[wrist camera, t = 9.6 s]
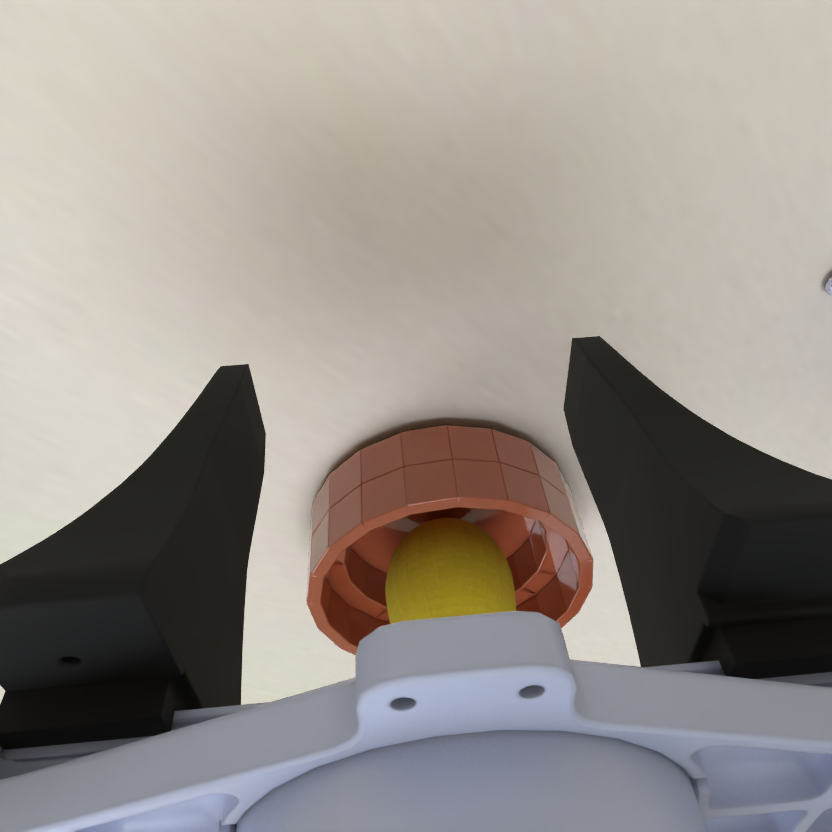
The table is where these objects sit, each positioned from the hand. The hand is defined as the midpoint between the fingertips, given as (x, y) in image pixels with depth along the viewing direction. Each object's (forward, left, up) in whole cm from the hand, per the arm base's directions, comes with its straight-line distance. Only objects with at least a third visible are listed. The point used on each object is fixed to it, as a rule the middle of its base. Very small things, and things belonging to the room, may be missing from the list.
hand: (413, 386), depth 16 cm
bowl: (-9, +13, -10) cm, 19 cm away
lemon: (-9, +13, -10) cm, 19 cm away
